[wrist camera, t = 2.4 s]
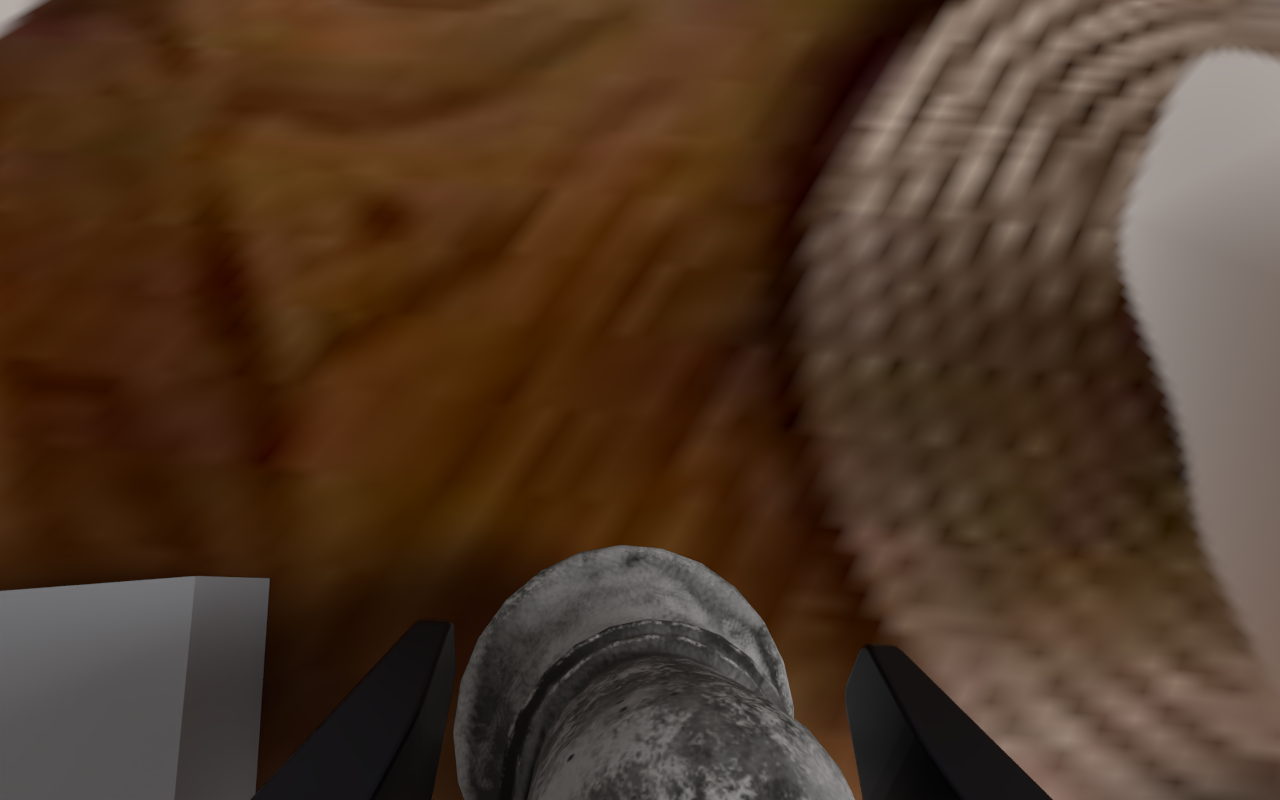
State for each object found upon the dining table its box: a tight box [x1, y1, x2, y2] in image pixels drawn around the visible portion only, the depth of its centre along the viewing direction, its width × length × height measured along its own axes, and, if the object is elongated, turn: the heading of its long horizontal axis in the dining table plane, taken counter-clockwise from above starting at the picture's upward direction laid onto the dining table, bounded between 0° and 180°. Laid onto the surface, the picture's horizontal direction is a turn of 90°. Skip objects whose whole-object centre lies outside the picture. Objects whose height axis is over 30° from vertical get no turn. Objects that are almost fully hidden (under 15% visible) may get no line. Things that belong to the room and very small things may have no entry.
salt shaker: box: [453, 545, 855, 800], centre depth 9 cm, size 6×6×12 cm
